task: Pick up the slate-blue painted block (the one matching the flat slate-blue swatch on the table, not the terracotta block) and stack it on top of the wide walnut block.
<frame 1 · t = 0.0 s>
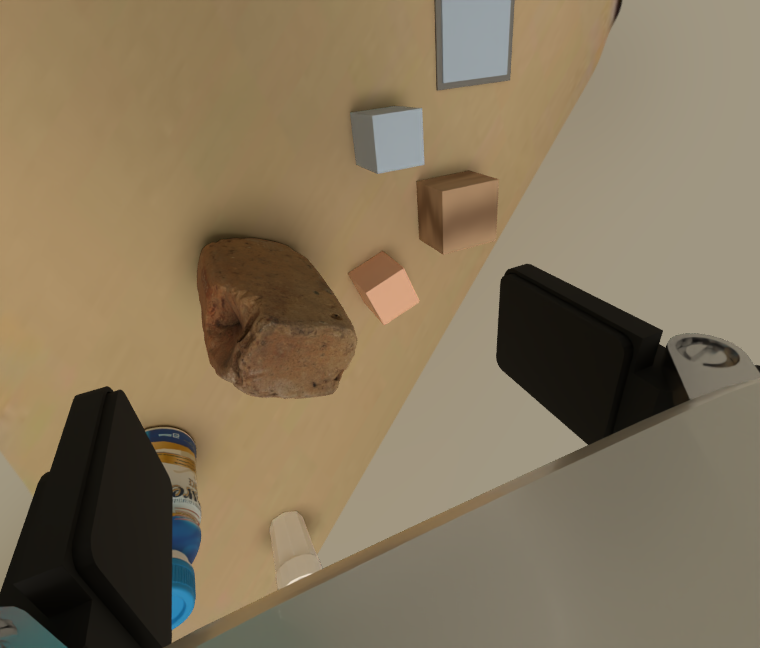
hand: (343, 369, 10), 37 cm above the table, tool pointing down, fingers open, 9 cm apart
slate block: (375, 135, 45), on the table
walnut block: (443, 205, 52), on the table
terracotta block: (373, 277, 52), on the table
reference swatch: (474, 34, 44), on the table
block: (249, 267, 46), on the table
beverage bottle: (159, 450, 52), on the table
cup: (286, 522, 66), on the table
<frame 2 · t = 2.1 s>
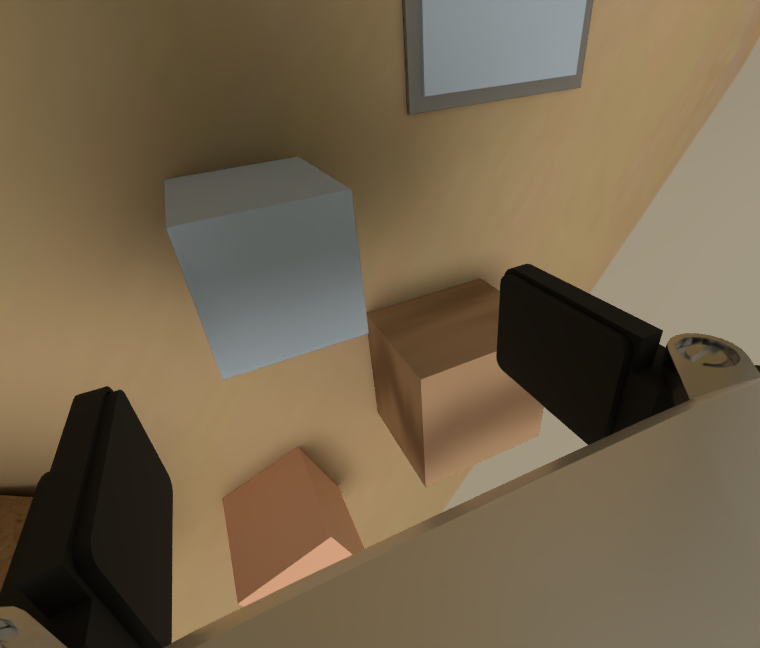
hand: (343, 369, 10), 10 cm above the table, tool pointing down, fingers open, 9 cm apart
slate block: (250, 230, 17), on the table
walnut block: (426, 346, 25), on the table
terracotta block: (284, 491, 26), on the table
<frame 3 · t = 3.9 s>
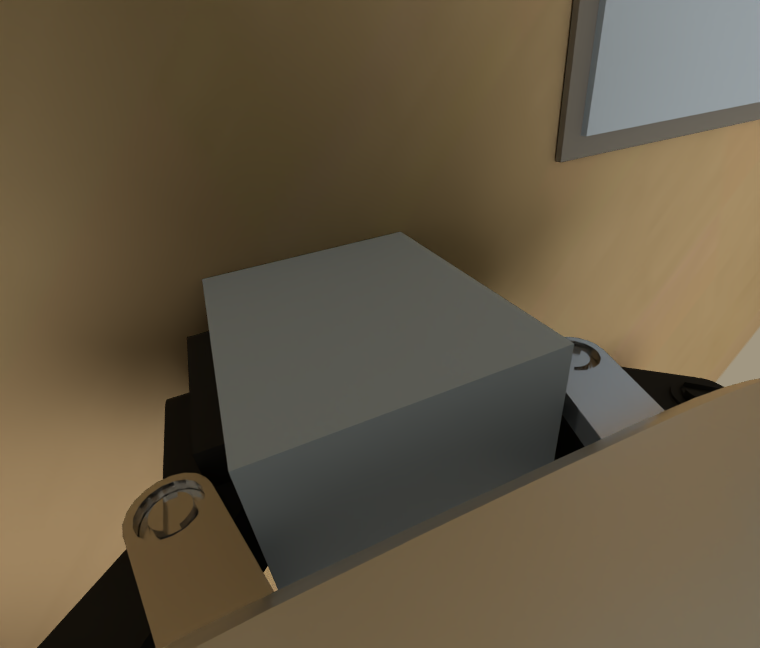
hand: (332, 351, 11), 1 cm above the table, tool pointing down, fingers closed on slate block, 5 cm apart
slate block: (324, 338, 12), on the table, touching gripper
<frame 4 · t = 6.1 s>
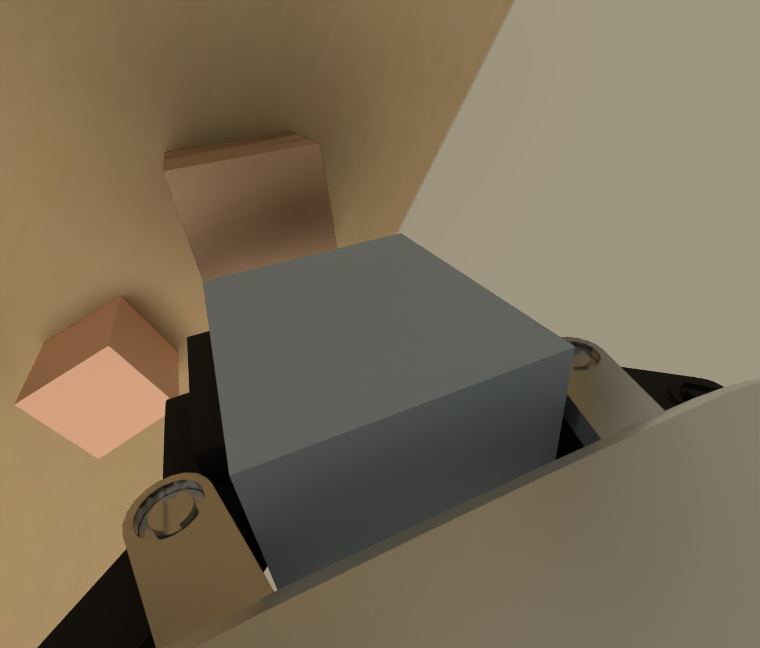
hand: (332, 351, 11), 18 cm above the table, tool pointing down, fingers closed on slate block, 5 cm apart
slate block: (325, 340, 12), point 17 cm above the table, touching gripper
walnut block: (247, 202, 26), on the table
terracotta block: (115, 346, 27), on the table
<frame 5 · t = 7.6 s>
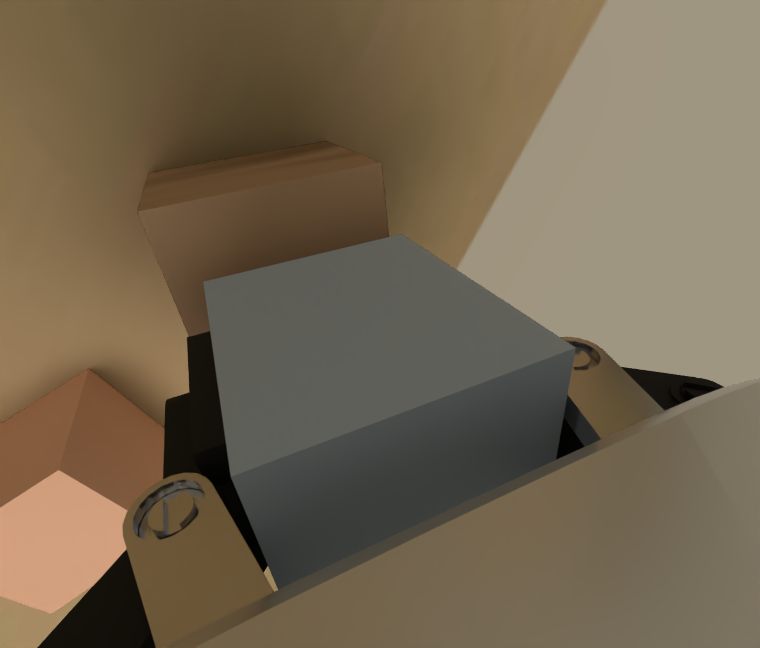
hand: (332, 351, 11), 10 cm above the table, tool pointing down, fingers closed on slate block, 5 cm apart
slate block: (325, 340, 12), point 9 cm above the table, touching gripper
walnut block: (263, 239, 19), on the table
terracotta block: (83, 433, 19), on the table
when the fingers open (8 cm above the table, at t = 8.7 s): slate block drops 1 cm, point 6 cm above the table.
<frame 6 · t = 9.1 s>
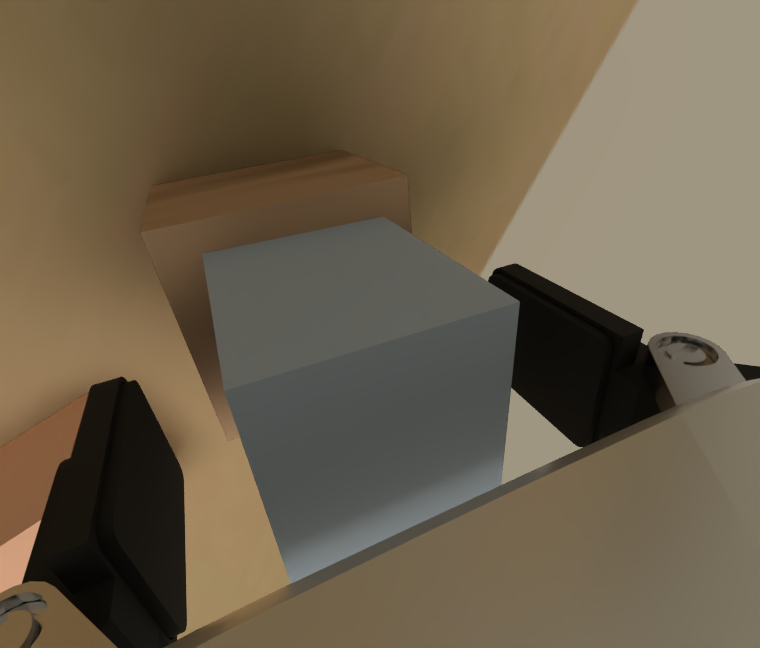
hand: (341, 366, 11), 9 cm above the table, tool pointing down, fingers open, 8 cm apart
slate block: (313, 314, 13), point 6 cm above the table
walnut block: (274, 254, 18), on the table
terracotta block: (82, 459, 18), on the table
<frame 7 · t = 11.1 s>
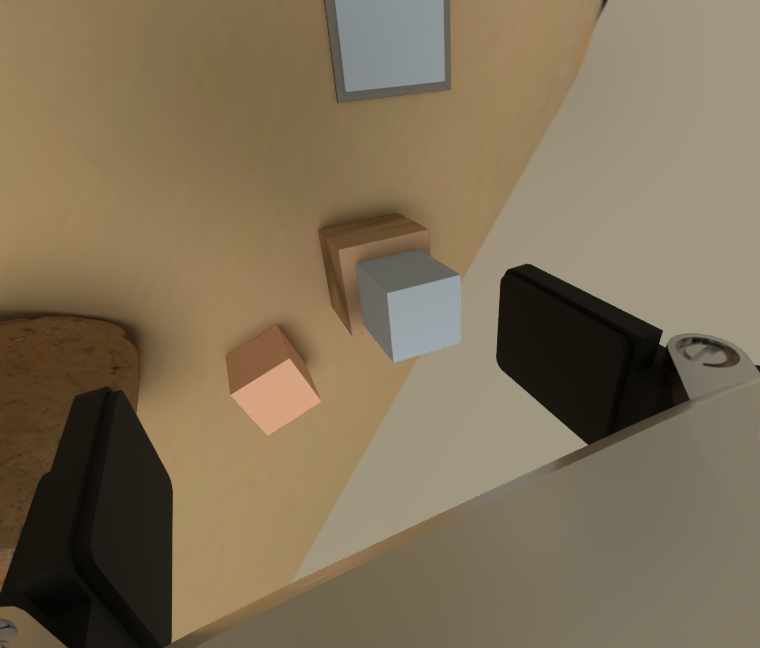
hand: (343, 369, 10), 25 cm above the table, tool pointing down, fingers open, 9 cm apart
slate block: (390, 287, 32), point 6 cm above the table, touching walnut block
walnut block: (363, 260, 37), on the table, touching slate block
terracotta block: (267, 359, 38), on the table
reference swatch: (390, 21, 30), on the table
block: (63, 355, 32), on the table
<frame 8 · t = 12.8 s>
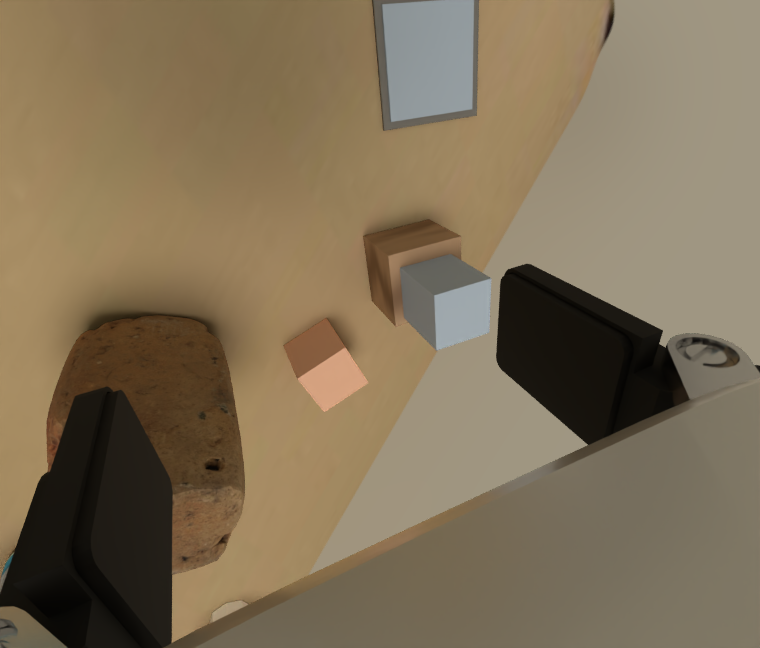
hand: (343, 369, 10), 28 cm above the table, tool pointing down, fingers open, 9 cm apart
slate block: (427, 286, 38), point 6 cm above the table
walnut block: (399, 260, 43), on the table
terracotta block: (317, 348, 44), on the table
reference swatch: (429, 61, 35), on the table
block: (153, 348, 37), on the table
cup: (229, 612, 58), on the table
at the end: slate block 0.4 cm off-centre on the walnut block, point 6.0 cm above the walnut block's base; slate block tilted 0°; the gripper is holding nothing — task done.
